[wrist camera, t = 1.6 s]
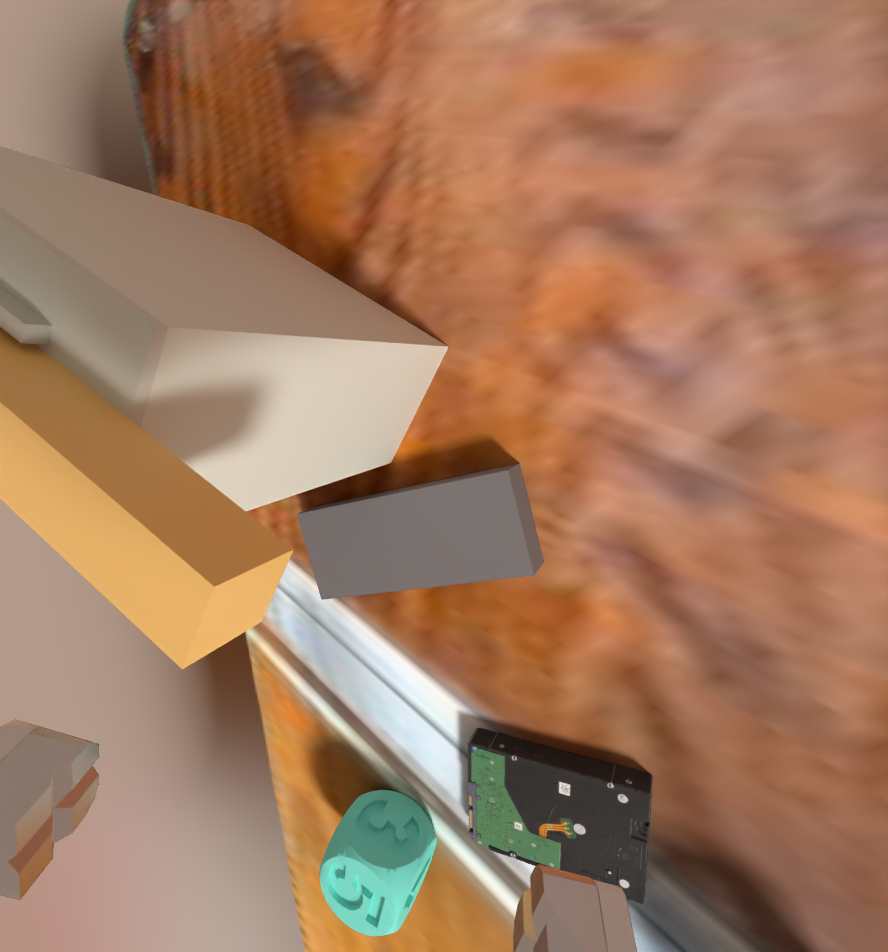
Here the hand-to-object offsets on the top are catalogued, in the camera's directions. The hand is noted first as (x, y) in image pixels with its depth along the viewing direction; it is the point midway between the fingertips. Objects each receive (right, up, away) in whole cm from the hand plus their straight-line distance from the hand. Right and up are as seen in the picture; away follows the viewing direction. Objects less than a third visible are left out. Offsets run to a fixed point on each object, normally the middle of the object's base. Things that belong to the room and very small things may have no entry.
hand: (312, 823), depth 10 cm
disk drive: (+12, -21, +37) cm, 44 cm away
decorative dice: (-2, -29, +44) cm, 53 cm away
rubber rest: (0, +1, +37) cm, 37 cm away
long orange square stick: (-15, +11, +13) cm, 22 cm away
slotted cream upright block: (-8, +18, +37) cm, 42 cm away
